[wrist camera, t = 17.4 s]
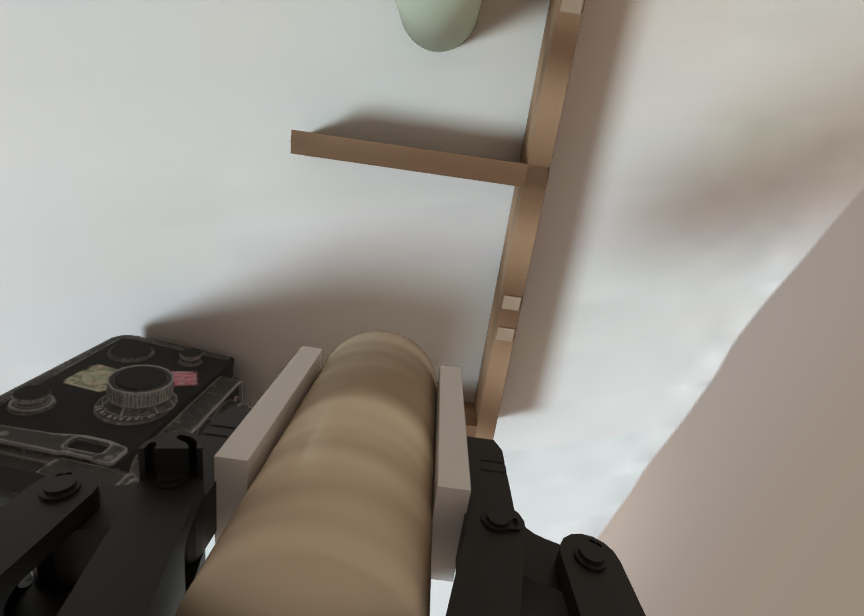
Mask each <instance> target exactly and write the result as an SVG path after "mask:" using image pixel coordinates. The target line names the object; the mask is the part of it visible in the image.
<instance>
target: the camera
mask: <svg viewBox="0 0 864 616" xmlns="http://www.w3.org/2000/svg"><path fill="white" fill-rule="evenodd" d="M233 365H234V358H232V357H229V358H228V357H224V356H220V355H216V354H211V353H207V352H203V351H200V350H197V349H194V348H186V347H182V346H177V345H173V344H169V343H165V342H160V341H156V340H152V339H148V338H143V337H139V336H133V335H121V336H117V337H113V338H111V339H109V340H107V341H105V342H103V343H101V344H99V345H97V346H95V347H93V348H91V349H89V350H87V351H85V352H83V353H82V354H80V355H78V356H76V357H74V358H72V359H70V360H68V361H66V362H64V363H62V364H60V365H58V366H56V367H54V368H53V369H51V370H49V371H47V372H45V373H43V374H41V375H39V376H37V377H35V378H33V379H31V380H29V381H27V382H26V383H24V384H22V385H20V386H18V387H16V388H14V389H12V390H10V391H8V392H6V393H4V394H2V395H0V507H2V506H3V505H4V504H6V503H7V502H8V501H10V500H11V499H12V498H14V497H15V496H16V495H18V494H19V493H20V492H22V491H23V490H24V489H26V488H27V487H28V486H30V485H31V484H33V483H35V482H36V481H38V480H40V479H42V478H43V477H46V476H49V475H52V474H54V473H57V472H62V471H67V470H87V471H90V472H93V473H95V474H96V476H97V477H98V478H99V485H100V487H107V486H118V485H128V484H134V483H138V482H139V480H140V473H139V459H138V448H139V447H140V446H141V445H142V444H143V443H144V442H145V441H147V440H149V439H151V438H153V437H155V436H158V435H161V434H165V433H169V432H180V431H181V432H189V433H193V434H195V435H197V436H199V435H201V434H202V432H203V431H204V430H205V429H206V428H207V426H209V425H210V423H211V422H212V421H213V420H214V419H215V418H216V417H217V416H218V414H220V413H222V412H223V411H225V410H227V409H229V408H231V407H233V406H239V407H246V408H248V406H247V404H246V403H243V382H242V380H238V379H233V378H232V373H233ZM30 574H31V572H30V573H29V574H28V575H27V576H26V577H25V578H24V579H23V580H22V581H24V580H25V579H26V578H27V577H28V576H29V575H30ZM22 581H21V582H22ZM21 582H20V583H21ZM20 583H19V584H20Z"/></svg>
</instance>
